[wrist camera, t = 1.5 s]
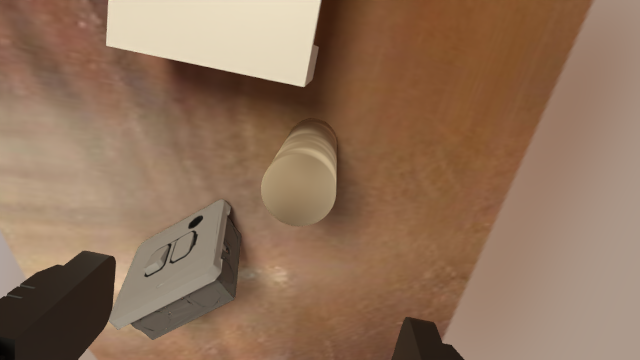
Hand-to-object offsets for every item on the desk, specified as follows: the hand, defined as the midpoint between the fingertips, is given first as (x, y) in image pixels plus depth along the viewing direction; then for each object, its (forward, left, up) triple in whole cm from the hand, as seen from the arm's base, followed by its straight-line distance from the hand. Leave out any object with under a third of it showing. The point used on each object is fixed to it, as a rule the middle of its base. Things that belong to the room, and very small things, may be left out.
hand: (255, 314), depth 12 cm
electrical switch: (+8, +11, -25) cm, 28 cm away
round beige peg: (0, 0, -24) cm, 24 cm away
